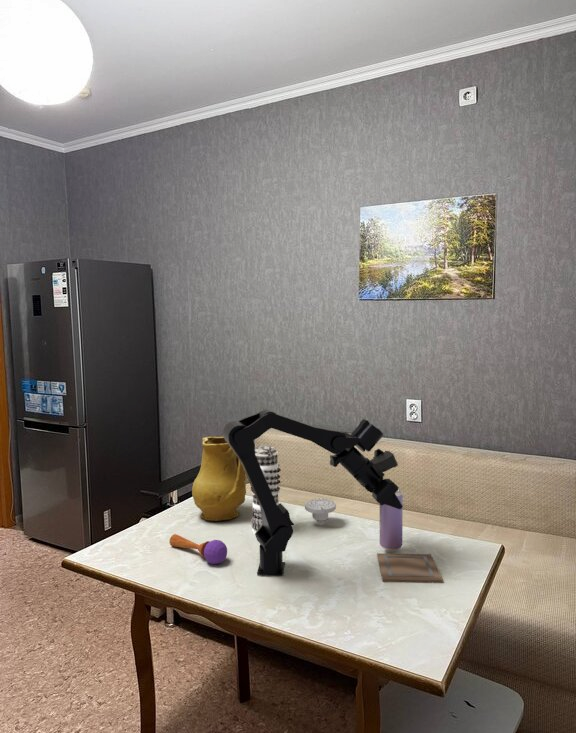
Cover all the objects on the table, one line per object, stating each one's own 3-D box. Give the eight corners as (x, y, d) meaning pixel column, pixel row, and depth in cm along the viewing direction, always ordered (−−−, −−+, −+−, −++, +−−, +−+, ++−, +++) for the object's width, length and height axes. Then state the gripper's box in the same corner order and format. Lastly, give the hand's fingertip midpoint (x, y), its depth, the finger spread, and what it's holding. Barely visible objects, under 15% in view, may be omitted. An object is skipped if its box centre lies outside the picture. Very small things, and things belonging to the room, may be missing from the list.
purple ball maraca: (183, 528, 152) (232, 540, 139) (182, 549, 151) (231, 564, 138) (166, 530, 147) (215, 543, 134) (164, 553, 146) (214, 568, 134)
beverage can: (403, 551, 139) (403, 495, 137) (380, 550, 140) (380, 495, 138) (401, 541, 145) (401, 488, 143) (378, 541, 145) (378, 487, 144)
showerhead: (305, 507, 157) (303, 496, 166) (306, 531, 157) (304, 518, 167) (337, 506, 157) (333, 495, 167) (338, 530, 157) (334, 517, 167)
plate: (442, 582, 125) (442, 580, 125) (382, 581, 126) (382, 578, 126) (431, 556, 139) (431, 553, 139) (377, 555, 140) (377, 552, 140)
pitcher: (237, 502, 182) (235, 430, 180) (255, 521, 165) (253, 442, 163) (187, 510, 176) (184, 435, 174) (200, 531, 159) (198, 448, 156)
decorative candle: (284, 524, 162) (282, 444, 160) (279, 537, 153) (277, 451, 151) (254, 523, 164) (252, 443, 161) (248, 535, 155) (245, 451, 152)
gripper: (391, 451, 130) (433, 493, 132) (367, 434, 148) (405, 472, 151) (359, 484, 129) (402, 525, 132) (340, 464, 148) (377, 500, 150)
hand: (397, 503), depth 141 cm, fingers closed on beverage can, 6 cm apart
